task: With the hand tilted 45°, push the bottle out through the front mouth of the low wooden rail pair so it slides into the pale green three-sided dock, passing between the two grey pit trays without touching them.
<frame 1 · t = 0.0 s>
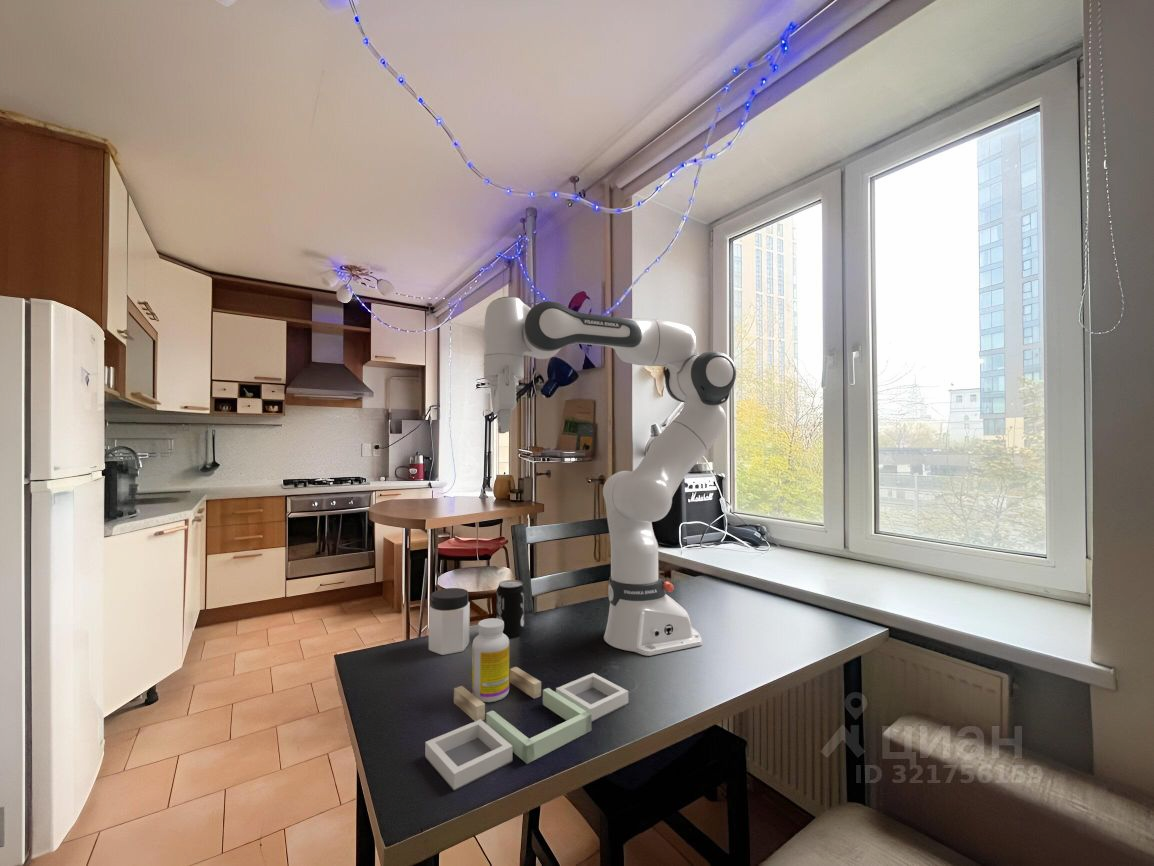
hand: (503, 432, 107), 48 cm above the table, tool pointing down, fingers open, 8 cm apart
supplement bottle: (490, 695, 88), on the table
pit 1: (468, 759, 69), on the table
jar: (449, 647, 108), on the table
beverage can: (510, 634, 116), on the table
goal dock: (536, 728, 77), on the table
wooden rail pair: (498, 699, 86), on the table
pit 2: (591, 702, 85), on the table
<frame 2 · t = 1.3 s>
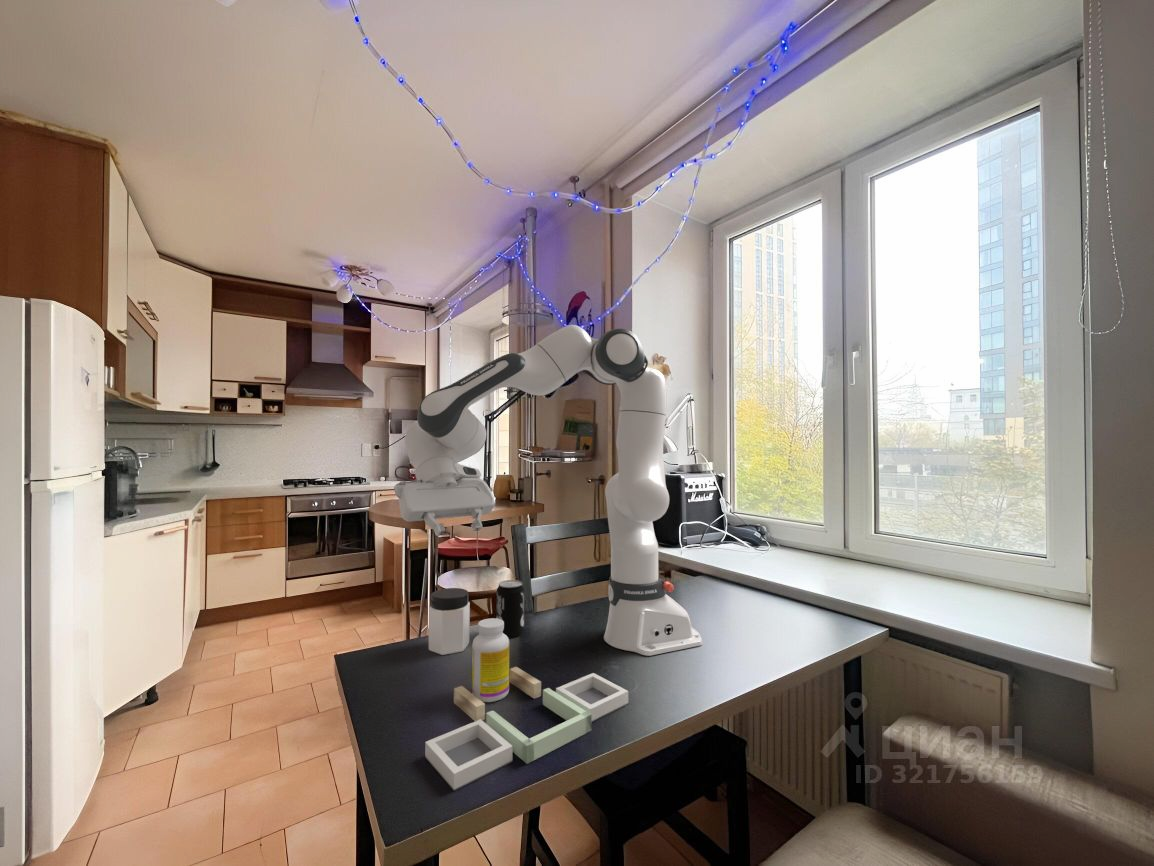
hand: (460, 531, 98), 28 cm above the table, tool tilted 45°, fingers open, 7 cm apart
nothing on the table moved.
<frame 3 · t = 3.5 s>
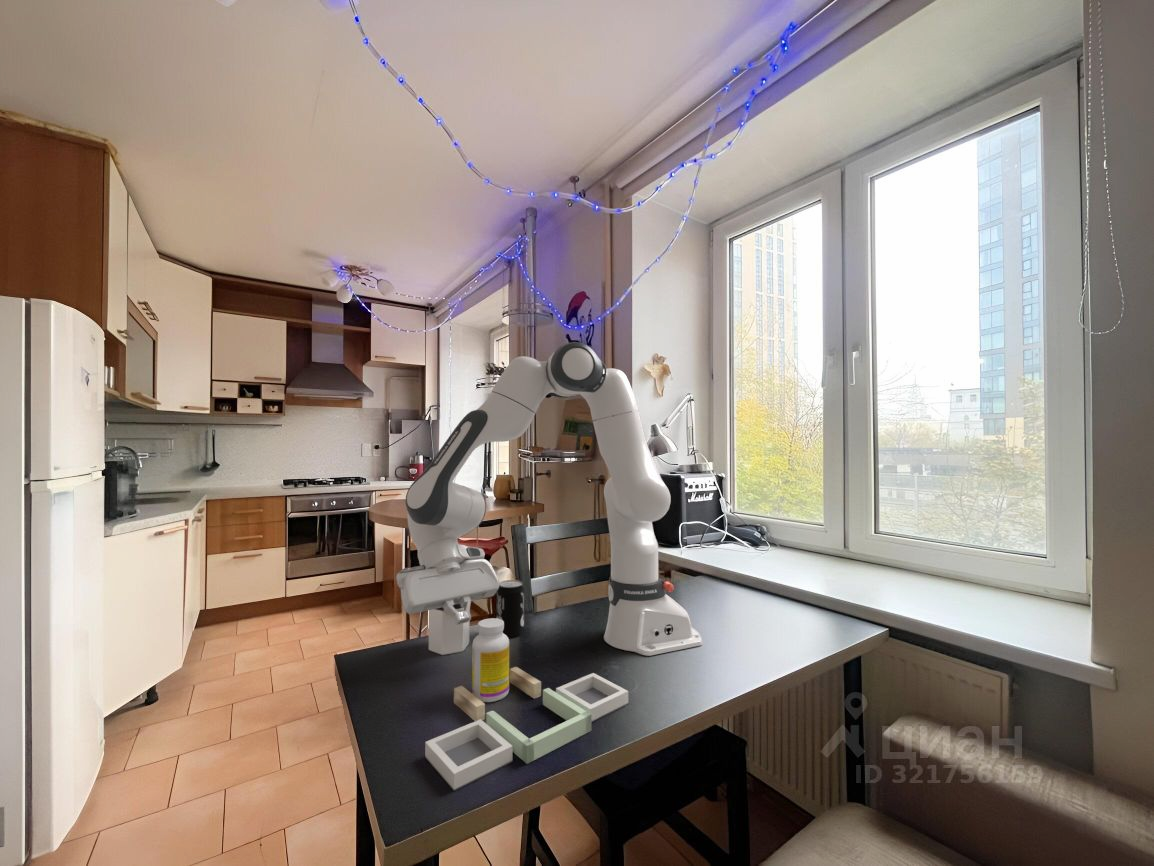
hand: (463, 621, 95), 10 cm above the table, tool tilted 45°, fingers closed
nothing on the table moved.
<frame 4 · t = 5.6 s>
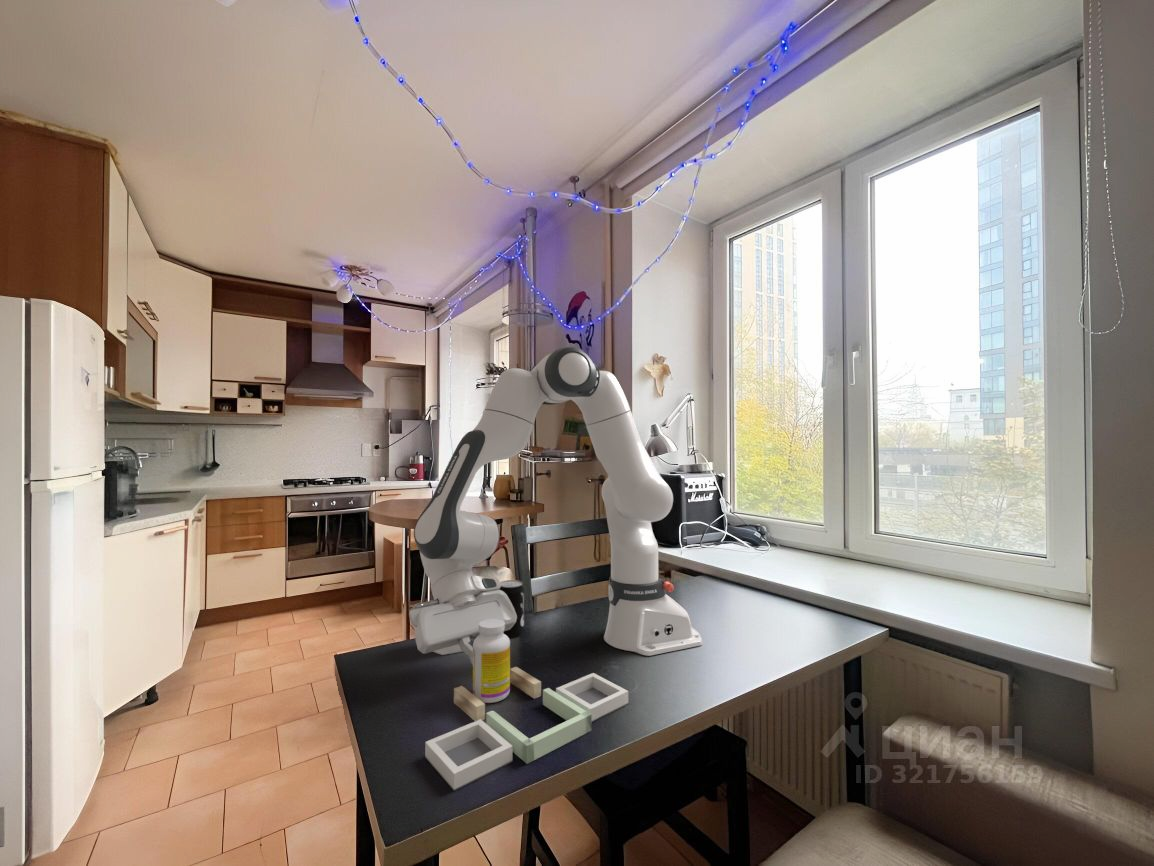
hand: (480, 660, 90), 5 cm above the table, tool tilted 45°, fingers closed, pressing on supplement bottle
supplement bottle: (491, 696, 87), on the table, touching gripper
everything else where it was.
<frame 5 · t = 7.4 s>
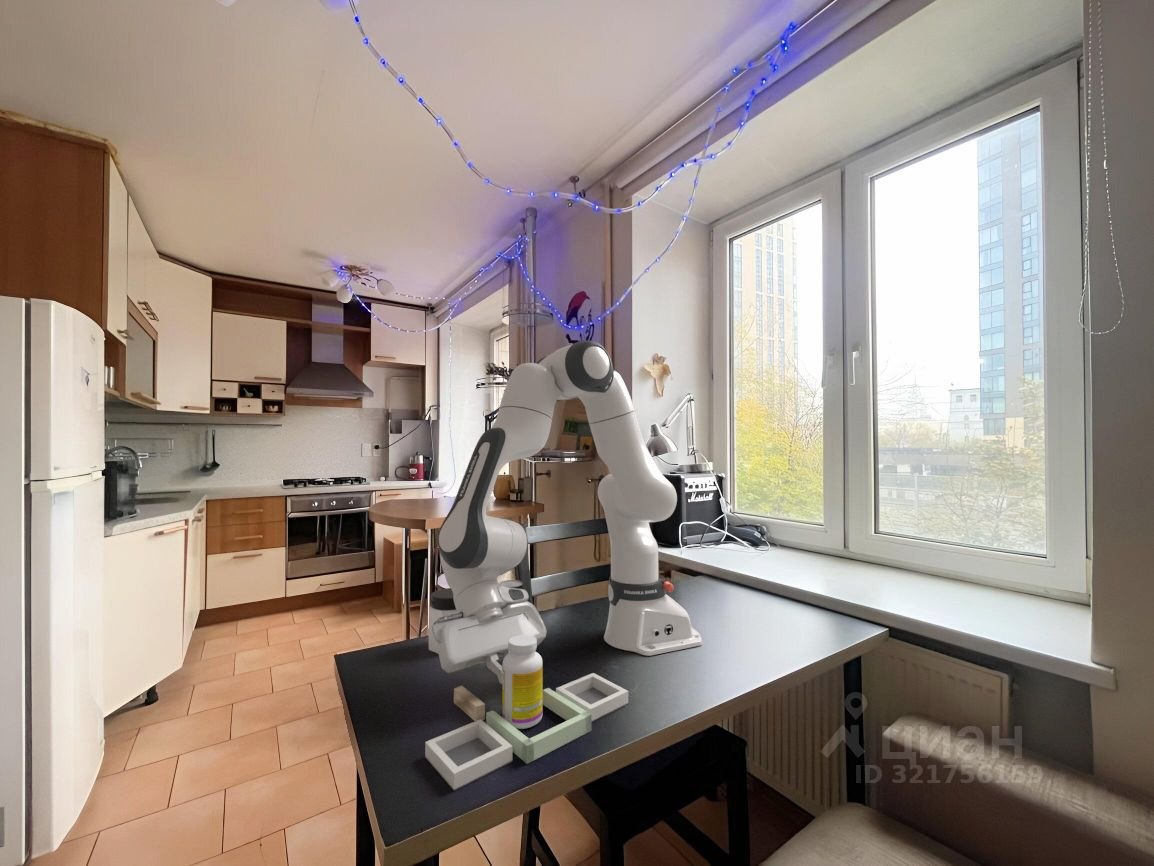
hand: (509, 680, 83), 5 cm above the table, tool tilted 45°, fingers closed, pressing on supplement bottle
supplement bottle: (522, 720, 80), on the table, touching gripper
everything else where it was.
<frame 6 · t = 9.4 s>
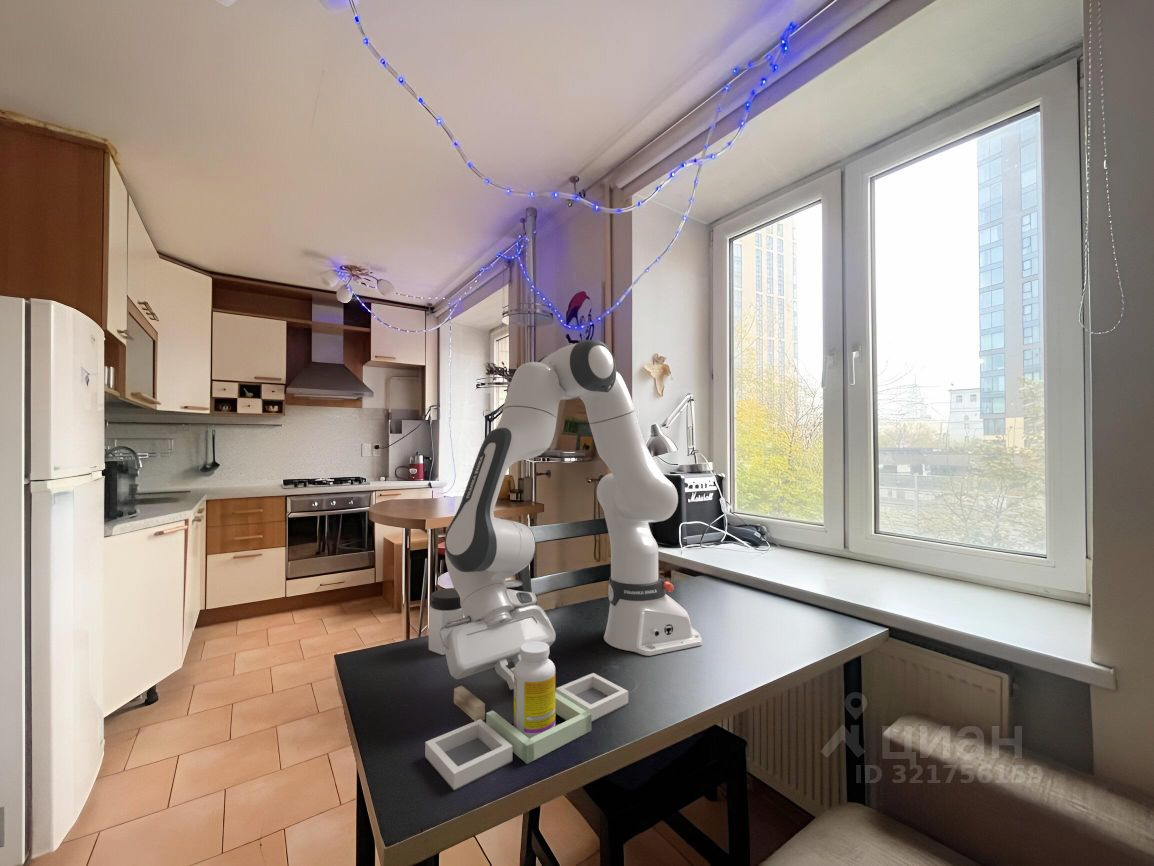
hand: (519, 685, 81), 5 cm above the table, tool tilted 45°, fingers closed
supplement bottle: (534, 729, 77), on the table
everything else where it was.
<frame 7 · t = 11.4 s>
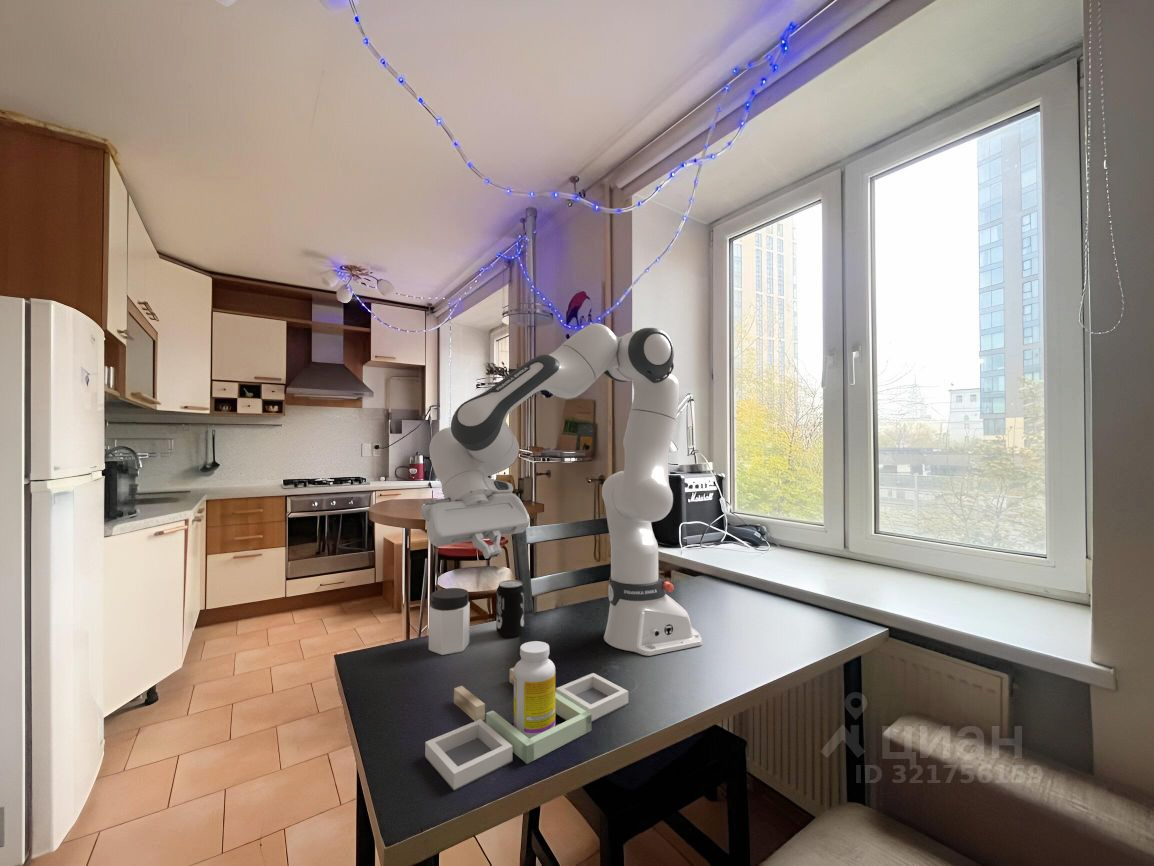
hand: (494, 555, 89), 25 cm above the table, tool tilted 45°, fingers closed
nothing on the table moved.
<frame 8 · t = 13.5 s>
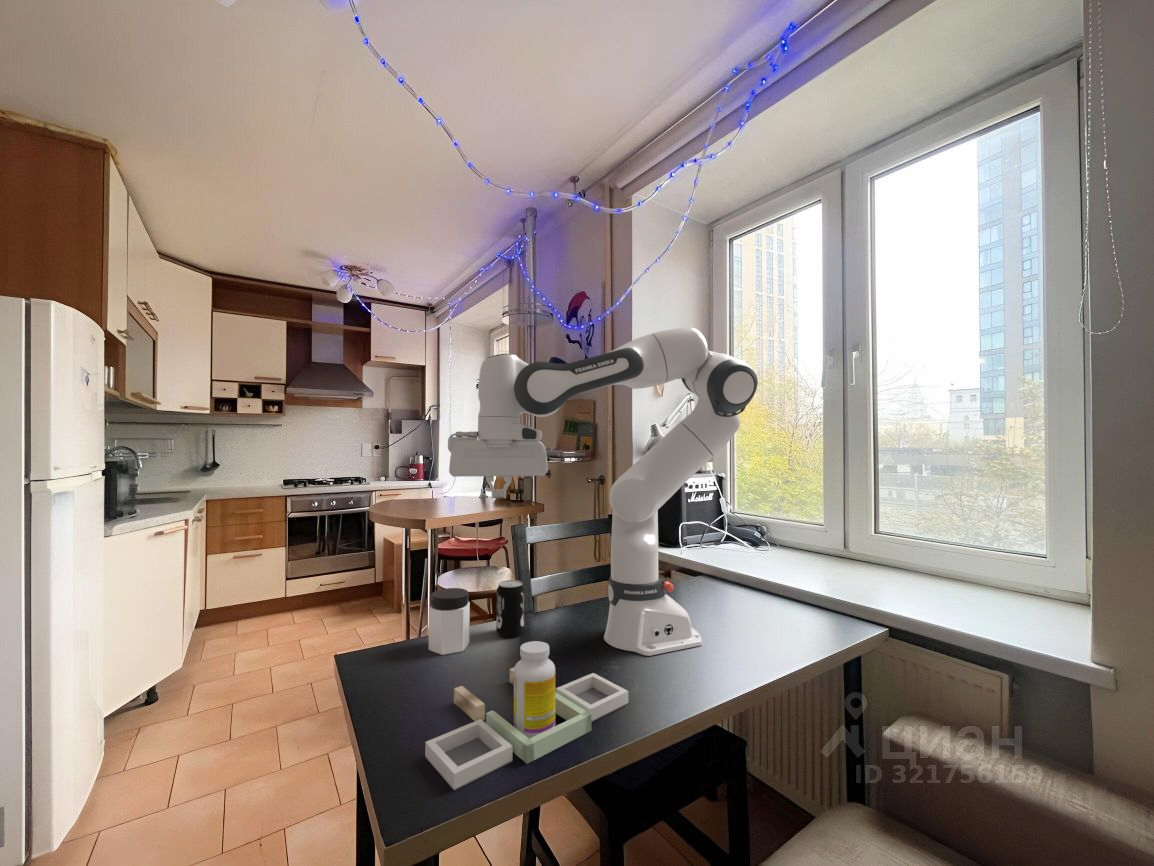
hand: (498, 498, 101), 34 cm above the table, tool pointing down, fingers closed
nothing on the table moved.
at the end: supplement bottle 0.3 cm from the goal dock (horizontally); supplement bottle tilted 0°; supplement bottle touching table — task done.
